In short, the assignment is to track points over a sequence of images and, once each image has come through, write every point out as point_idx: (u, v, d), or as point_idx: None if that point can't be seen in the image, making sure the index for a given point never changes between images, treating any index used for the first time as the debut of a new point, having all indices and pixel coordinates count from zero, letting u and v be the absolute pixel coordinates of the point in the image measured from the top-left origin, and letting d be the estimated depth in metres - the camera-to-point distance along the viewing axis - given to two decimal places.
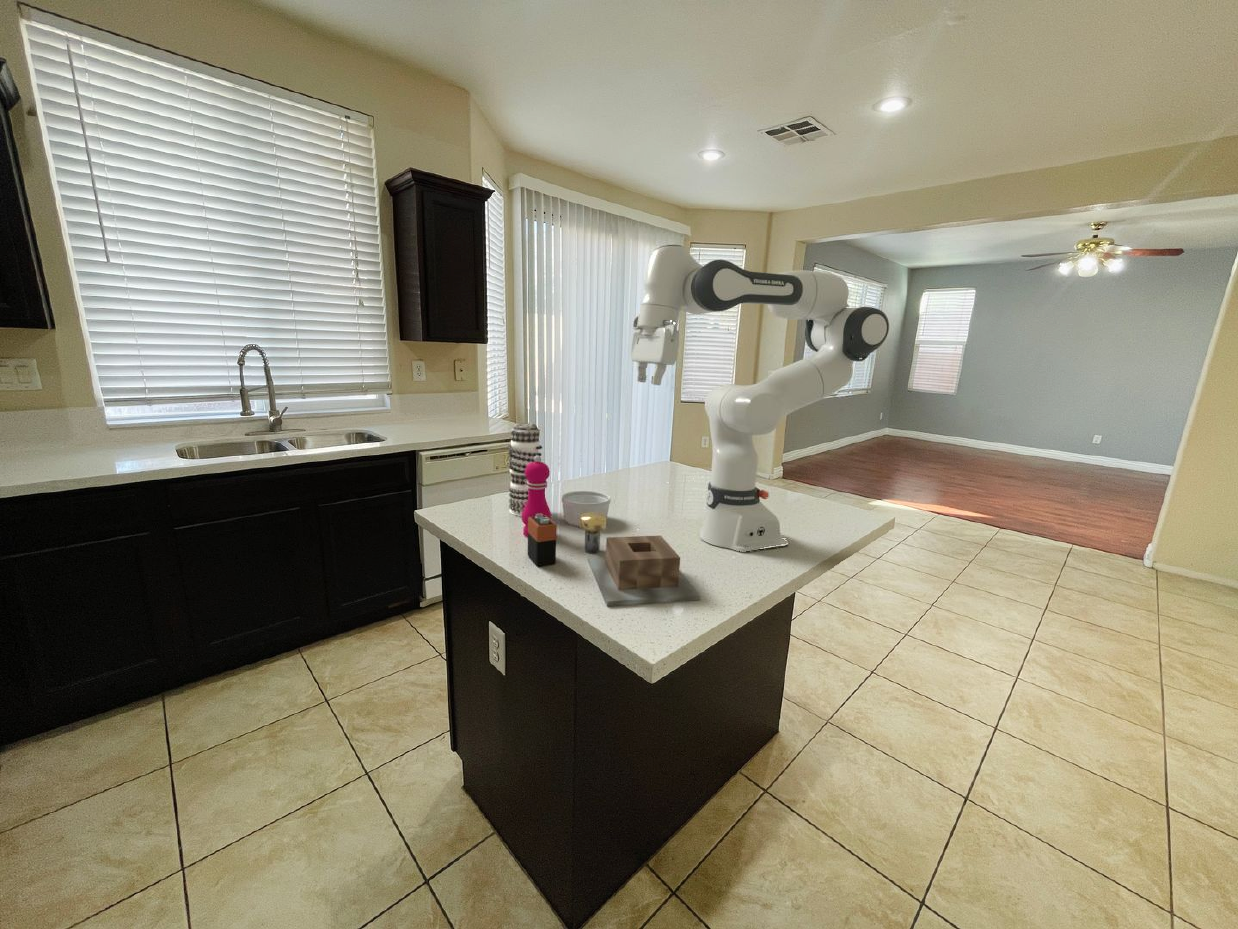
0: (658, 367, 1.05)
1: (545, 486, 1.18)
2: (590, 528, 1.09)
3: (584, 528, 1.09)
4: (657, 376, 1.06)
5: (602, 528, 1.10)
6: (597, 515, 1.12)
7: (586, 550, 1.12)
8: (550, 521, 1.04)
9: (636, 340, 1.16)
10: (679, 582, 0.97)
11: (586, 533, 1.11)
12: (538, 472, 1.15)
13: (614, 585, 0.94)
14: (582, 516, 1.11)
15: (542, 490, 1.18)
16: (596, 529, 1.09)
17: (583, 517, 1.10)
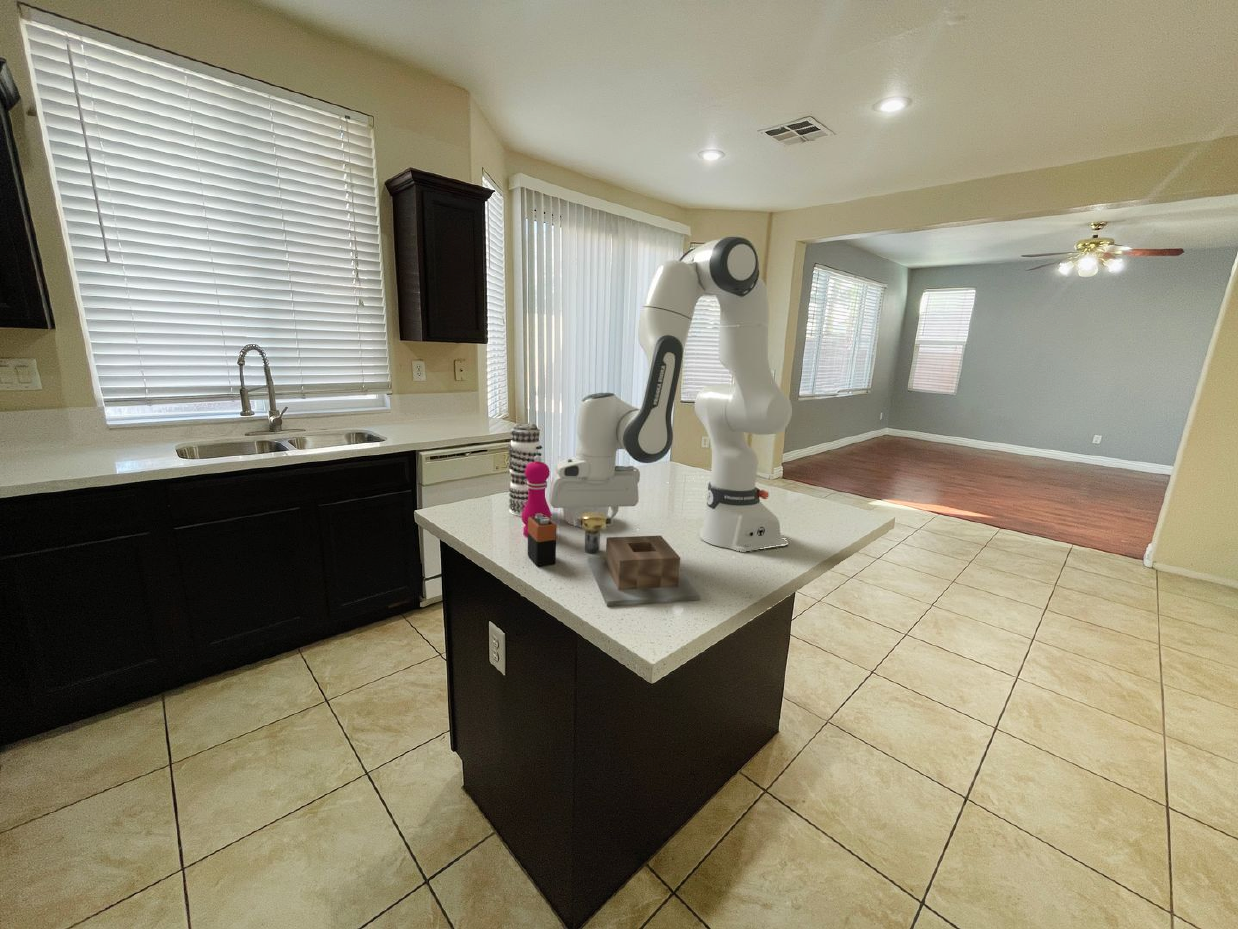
0: None
1: (545, 486, 1.18)
2: (590, 528, 1.09)
3: (584, 528, 1.09)
4: None
5: (602, 528, 1.10)
6: (597, 515, 1.12)
7: (586, 550, 1.12)
8: (550, 521, 1.04)
9: (562, 487, 1.06)
10: (679, 582, 0.97)
11: (586, 533, 1.11)
12: (538, 472, 1.15)
13: (614, 585, 0.94)
14: (582, 516, 1.11)
15: (542, 490, 1.18)
16: (596, 529, 1.09)
17: (583, 517, 1.10)
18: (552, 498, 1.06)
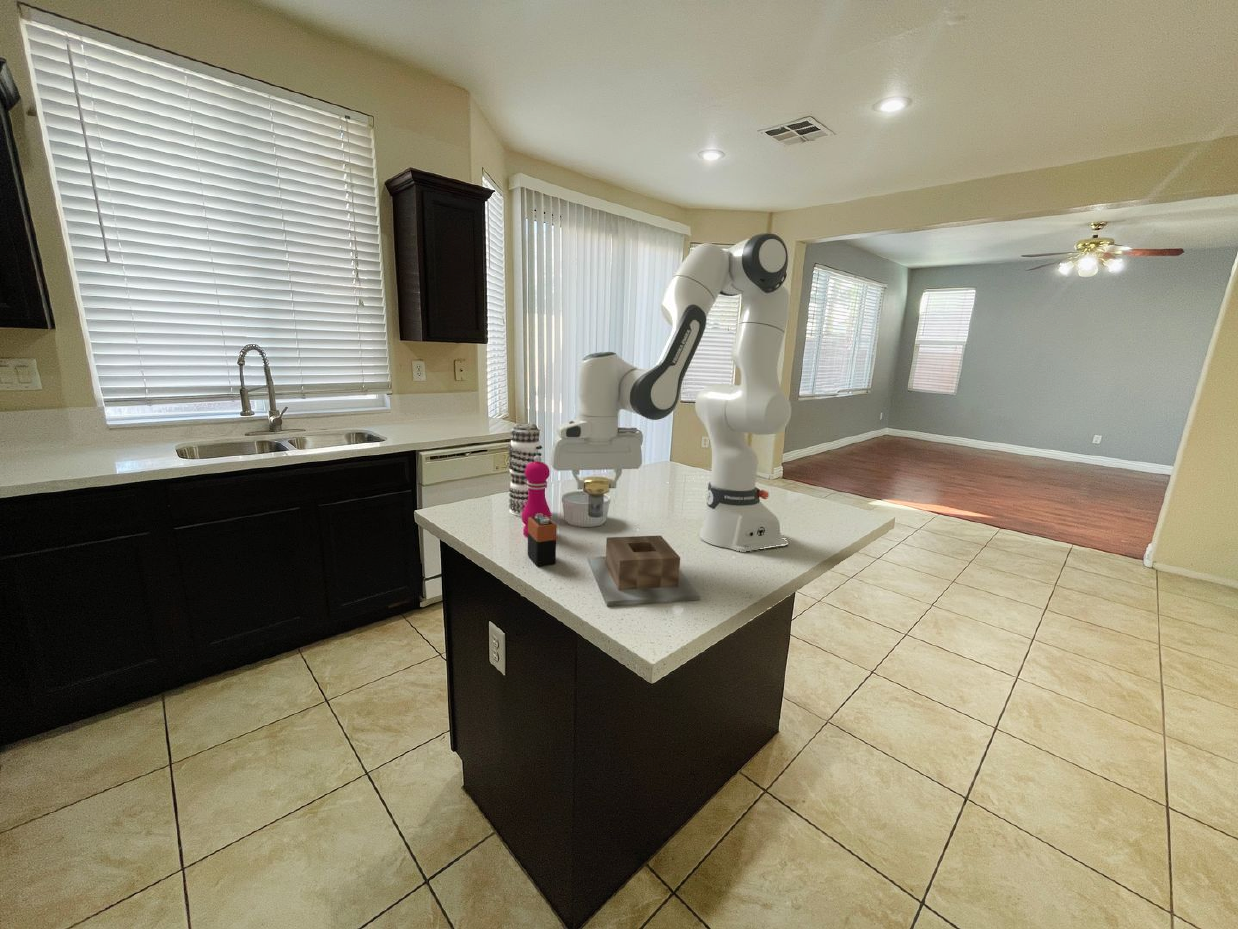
0: None
1: (545, 486, 1.18)
2: (593, 491, 1.07)
3: (587, 491, 1.08)
4: None
5: (605, 491, 1.08)
6: (600, 479, 1.10)
7: (590, 514, 1.10)
8: (550, 521, 1.04)
9: (564, 449, 1.04)
10: (679, 582, 0.97)
11: (589, 497, 1.09)
12: (538, 472, 1.15)
13: (614, 585, 0.94)
14: (585, 479, 1.09)
15: (542, 490, 1.18)
16: (599, 492, 1.07)
17: (586, 480, 1.09)
18: (554, 460, 1.04)
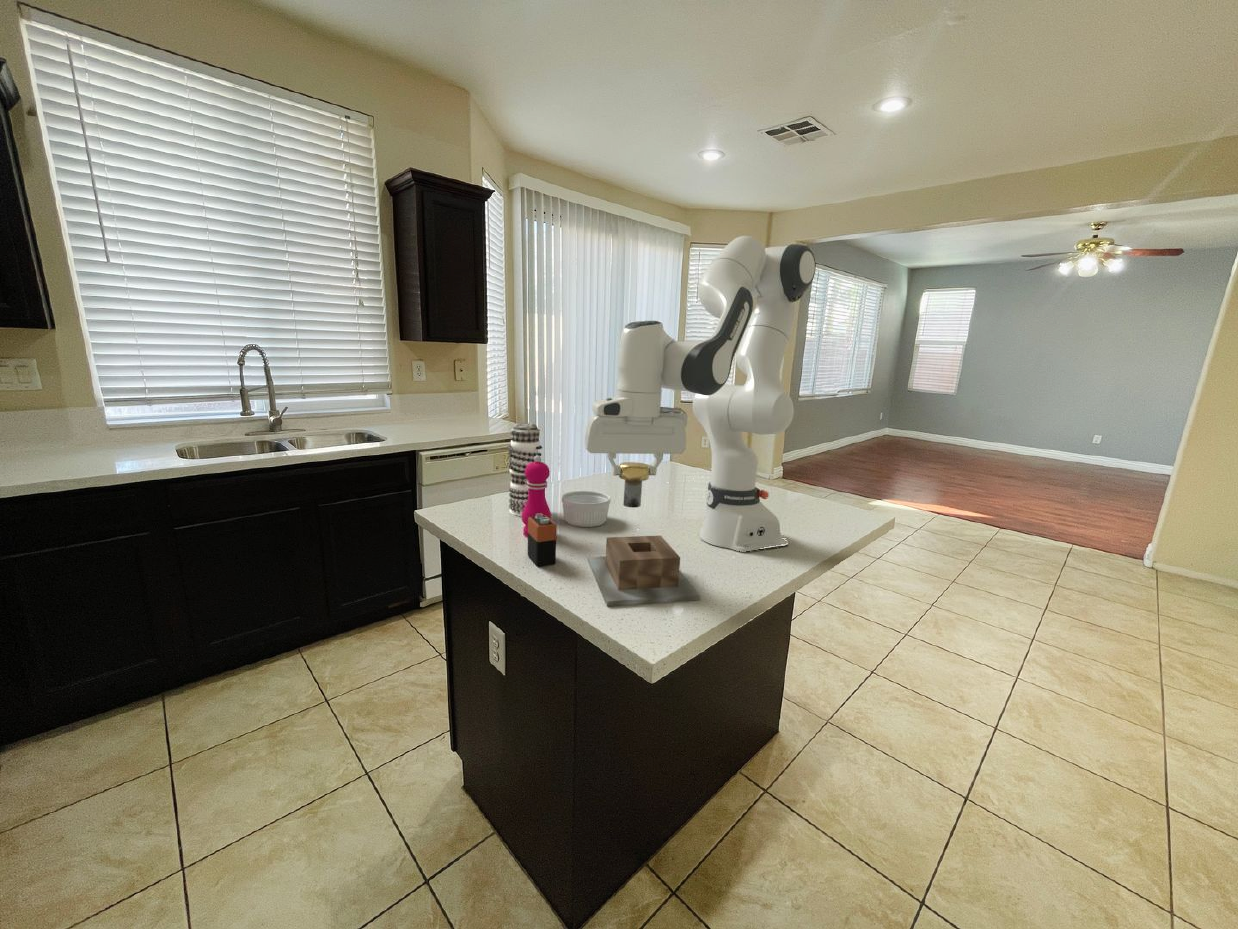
0: None
1: (545, 486, 1.18)
2: (631, 477, 0.95)
3: (624, 477, 0.96)
4: None
5: (645, 478, 0.96)
6: (638, 464, 0.99)
7: (626, 504, 0.98)
8: (550, 521, 1.04)
9: (600, 429, 0.93)
10: (679, 582, 0.97)
11: (626, 484, 0.98)
12: (538, 472, 1.15)
13: (614, 585, 0.94)
14: (622, 465, 0.97)
15: (542, 490, 1.18)
16: (638, 478, 0.95)
17: (623, 465, 0.97)
18: (589, 441, 0.93)
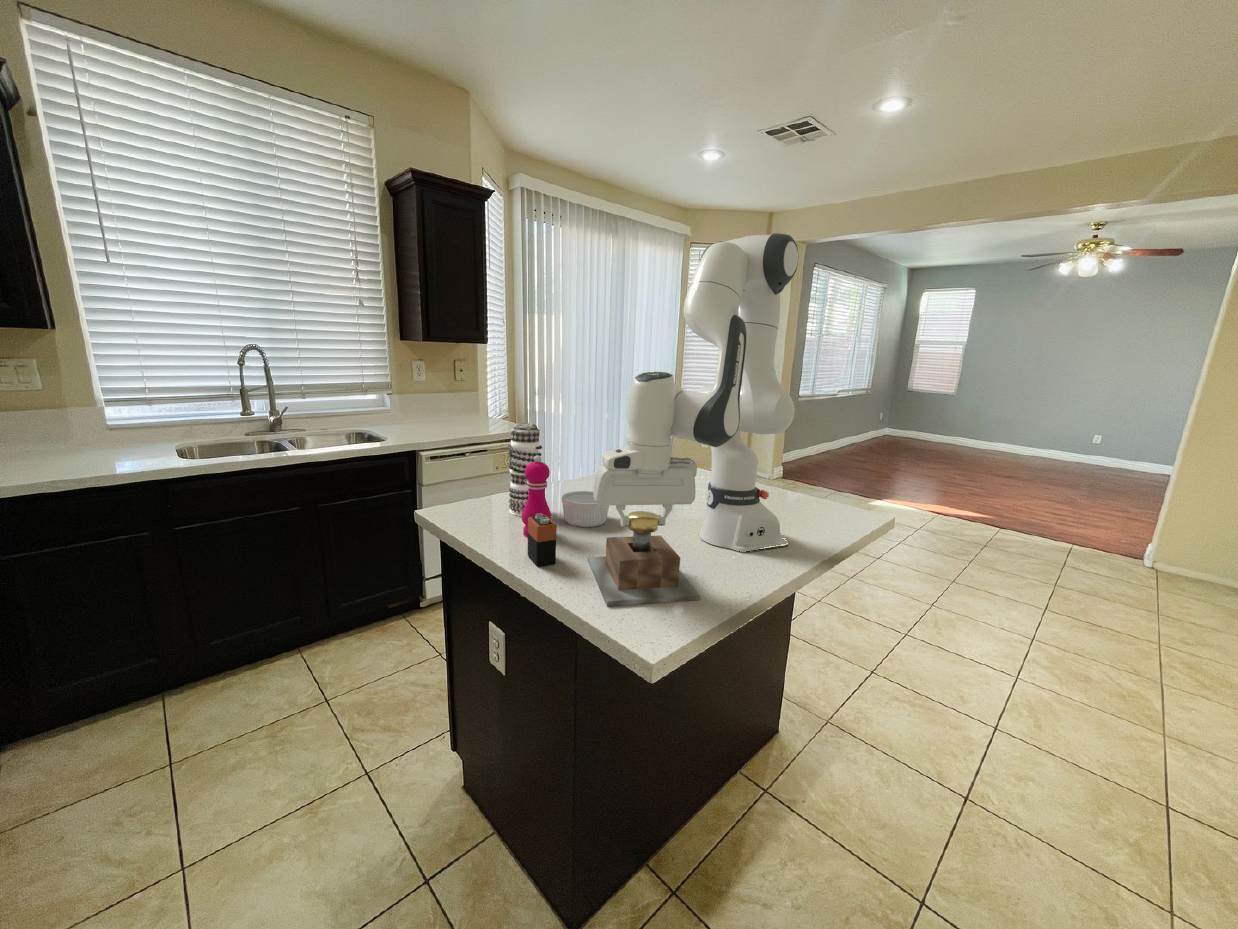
0: None
1: (545, 486, 1.18)
2: (641, 529, 0.94)
3: (634, 529, 0.95)
4: None
5: (654, 529, 0.95)
6: (647, 514, 0.97)
7: None
8: (550, 521, 1.04)
9: (610, 481, 0.91)
10: (679, 582, 0.97)
11: (635, 535, 0.96)
12: (538, 472, 1.15)
13: (614, 585, 0.94)
14: (631, 515, 0.96)
15: (542, 490, 1.18)
16: (648, 530, 0.94)
17: (632, 516, 0.95)
18: (598, 494, 0.91)
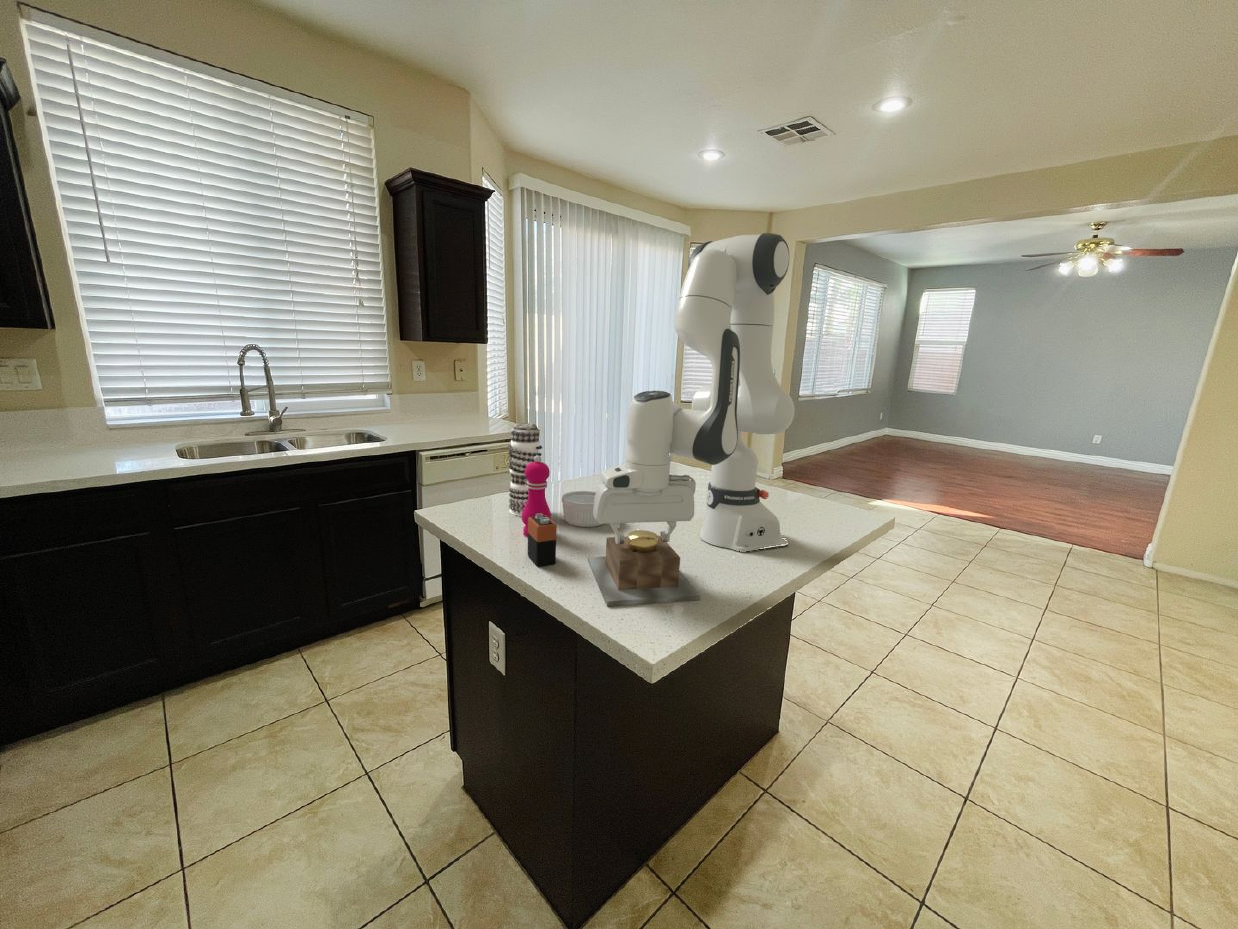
0: None
1: (545, 486, 1.18)
2: (640, 549, 0.95)
3: (633, 549, 0.96)
4: None
5: (654, 549, 0.96)
6: (647, 534, 0.98)
7: None
8: (550, 521, 1.04)
9: (610, 500, 0.92)
10: (679, 582, 0.97)
11: None
12: (538, 472, 1.15)
13: (614, 585, 0.94)
14: (630, 535, 0.97)
15: (542, 490, 1.18)
16: (647, 550, 0.95)
17: (632, 536, 0.96)
18: (598, 513, 0.92)
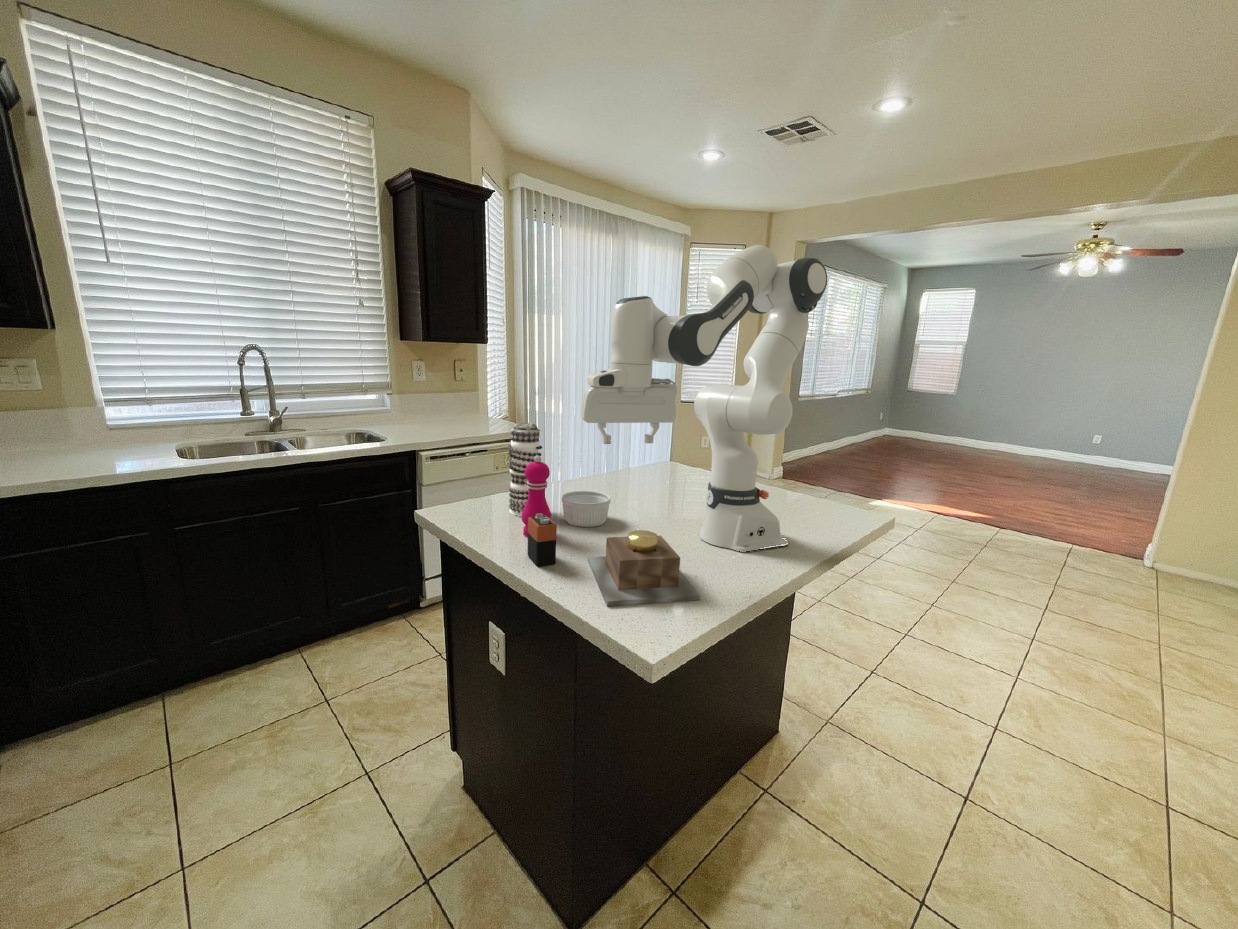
0: None
1: (545, 486, 1.18)
2: (640, 549, 0.95)
3: (633, 549, 0.96)
4: None
5: (654, 549, 0.96)
6: (647, 534, 0.98)
7: None
8: (550, 521, 1.04)
9: (596, 399, 0.98)
10: (679, 582, 0.97)
11: None
12: (538, 472, 1.15)
13: (614, 585, 0.94)
14: (630, 535, 0.97)
15: (542, 490, 1.18)
16: (647, 550, 0.95)
17: (632, 536, 0.96)
18: (585, 411, 0.98)
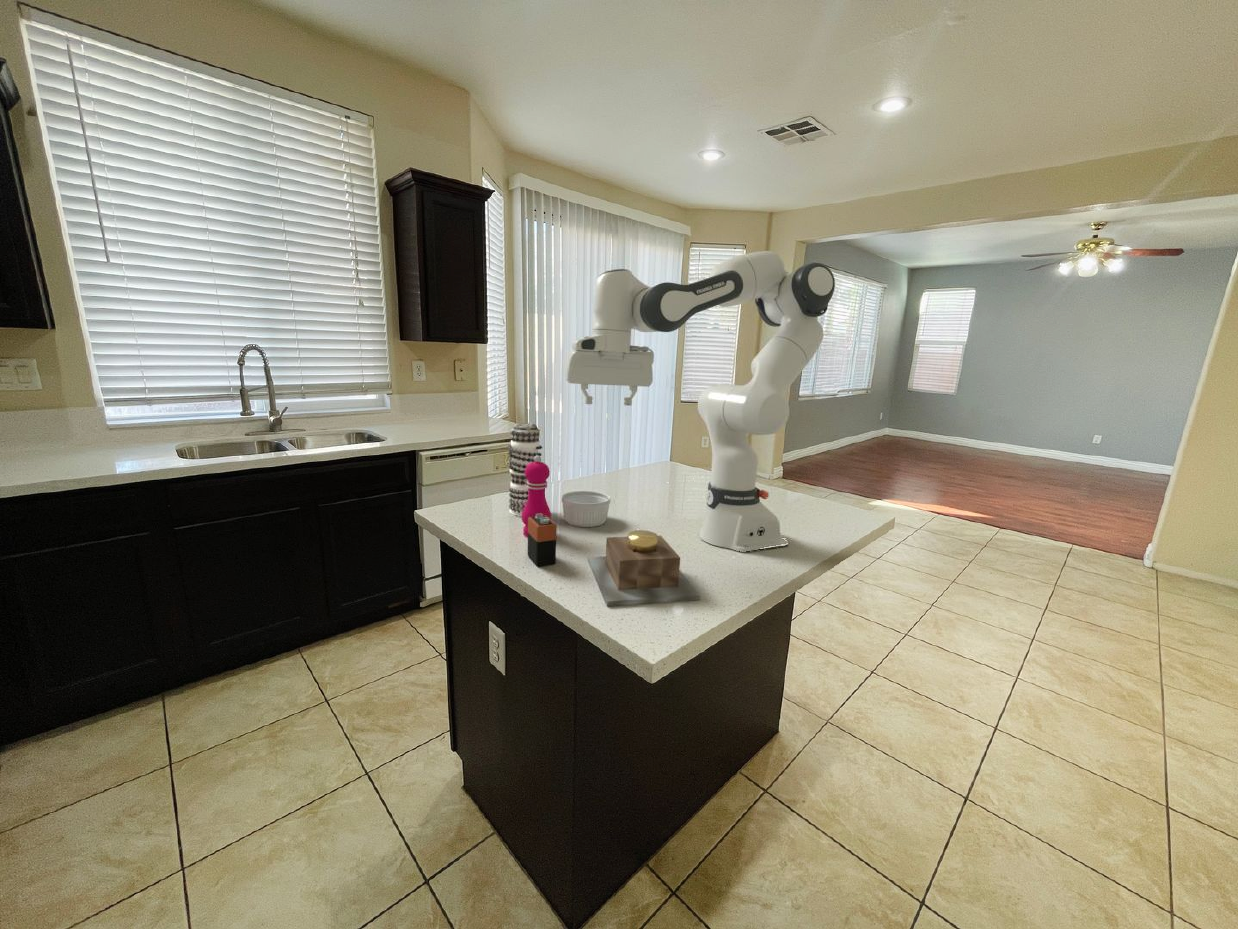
0: None
1: (545, 486, 1.18)
2: (640, 549, 0.95)
3: (633, 549, 0.96)
4: None
5: (654, 549, 0.96)
6: (647, 534, 0.98)
7: None
8: (550, 521, 1.04)
9: (579, 362, 1.09)
10: (679, 582, 0.97)
11: None
12: (538, 472, 1.15)
13: (614, 585, 0.94)
14: (630, 535, 0.97)
15: (542, 490, 1.18)
16: (647, 550, 0.95)
17: (632, 536, 0.96)
18: (569, 372, 1.09)
